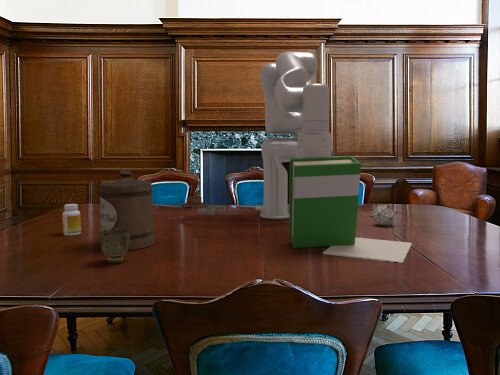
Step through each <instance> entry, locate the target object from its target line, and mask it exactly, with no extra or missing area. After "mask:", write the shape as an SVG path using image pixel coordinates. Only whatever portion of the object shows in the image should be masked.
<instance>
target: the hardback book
mask: <svg viewBox="0 0 500 375" xmlns="http://www.w3.org/2000/svg"><path fill="white" fill-rule="evenodd" d="M361 167H362V163H361V162H360V161H359V160H358V159H356V158H355V157H354V156H353V155H343V156H333V157H314V158H290V162H289V197H288V198H289V200H288V201H289V203H288V207H289V209H288V211H289V212H288V213H289V218H288V237H289V238H292V248H293V249H297V248H298V249H300V248H315V247H316V248H317V247H331V246H338V245H355V237H356V234H357V221H358V220H357V219H358V208H359V207H358V206H359V194H360V182H361V180H360V179H361Z"/></svg>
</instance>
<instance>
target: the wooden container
mask: <svg viewBox="0 0 500 375" xmlns="http://www.w3.org/2000/svg"><path fill="white" fill-rule="evenodd" d="M132 175H133V173H132V171H131V170H129V169H125V168H124V169H121V171H119V176H120V177H119V178H118V179H117V180H116V181H108V182H106V181H105V182H101V183H99V184H98V191H99V216H100V218H99V220H100V221H99V223H100V225H99V226H100V231H102V230H103V229H105V230H107V231H108V230H109V228H110V229H111V231H113V229H114V228H116V229H118V228H120V229H121V231H122V229H123V228H124V229H125V230H126V229H127V228H128V229H129V230H130V238H129V247H128V250H127V251H134V250H135V251H136V250H143V249H146V248H148V247H151V246H153V245H154V244H155V228H154V227H155V226H154V225H155V221H154V209H153V208H154V207H153V206H154V205H153V204H154V203H153V190H152V189H153V184H152V181H144V180H142V181H141V180H135V179H133V178H132Z"/></svg>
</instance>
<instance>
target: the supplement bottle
mask: <svg viewBox="0 0 500 375" xmlns="http://www.w3.org/2000/svg"><path fill="white" fill-rule="evenodd" d="M63 208H64V211H63V212H62V229H63V230H62V233H63V235H64V236H76V235H80V234H81V233H82V222H81V220H82V219H81V218H82V216H81V212H80V210H78V209H79V206H78V203H68V204H67V203H66V204H64V207H63Z"/></svg>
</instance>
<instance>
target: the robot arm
mask: <svg viewBox="0 0 500 375" xmlns="http://www.w3.org/2000/svg"><path fill="white" fill-rule="evenodd" d="M317 71H318V60H317V57H316V56H315V54H314V53H312V52H308V51H289V50H288V51H284V52H283V51H282V53H280V54H278V56H277V57H276V59H275V62H268V63H265V64H263V65H262V66H261V69H260V73H259V76H260V77H259V78H260V86H261V89H262V91H263V96H264V115H265V116H264V118H265V120H264V123H265V124H264V125H265V131H266V132H267V133H268V134H270V135H290V136H292V137H270V138H267V139H265V140H263V141H262V143H261V150H260V151H261V156H262V164H263V204H262V205H255V211H257V212H258V211H259V212H260V213H259V217H260V218H263V219H268V220H269V219H270V220H282V219H283V220H285V219H289V212H288V176H289V175H288V171H287V169H286V168H285V167H284V165H283V163H290V158H314V157H334V145H333V138H332V133H331V132H329V130H330V129H329V128H330V125H329V122H330V121H329V120H330V118H329V117H330V116H329V115H330V112H329V111H330V87H329V86H328V85H327V84H325V83H308V82H309V81H311V80H312V79H313V77H314V76H315V75H316V73H317Z"/></svg>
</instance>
